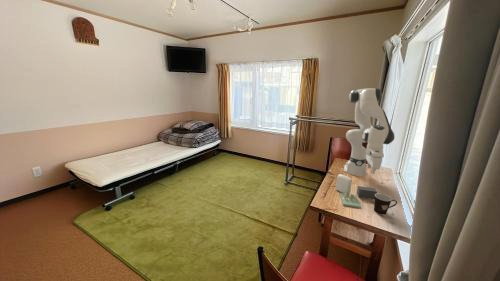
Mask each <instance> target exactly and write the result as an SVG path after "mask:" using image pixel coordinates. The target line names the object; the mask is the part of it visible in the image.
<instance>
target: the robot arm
mask: <svg viewBox="0 0 500 281" xmlns="http://www.w3.org/2000/svg"><path fill="white" fill-rule="evenodd" d="M381 98H382V92H381V89H380V88H378V87H377V88H376V87H374V88H371V87H370V88H368V87H367V88H360V89H353V90H351V91H349V95H348V99H349V102H350V103H352V104H355V107H354V122H355V124H356V125H358V126H359V129H357V128H354V129H349V130H347V131H346V133H345V139H346V140H347V142H349V143H350V146H351V153H350V157H349V160H348V161H347V162H345V164H344V165H343V172H344V173H347V174H349V175H352V176H356V177H357V176H358V177H363V176H365V175H368V172H367V169H371V170H370V174H373V175H374V174H376V171H377V170H380V169H381V167H382V161H383V158H384V157H385V154H384V145H390V144H392V142H393V141H394V140H395V132H394V131H393V129H392V128H391V125H390V121H389V119H388V117H387V113H386V112H385V110H384V109H383V108H381V106H380V105H379V103H378V102H379V101H380V100H381ZM371 118H374V119H376V120H377V121H378V122H379V124H375V125H372V123H371ZM363 143H367V144H366V147H365V146H363ZM366 161H367V164H366Z"/></svg>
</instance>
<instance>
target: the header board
mask: <svg viewBox="0 0 500 281" xmlns="http://www.w3.org/2000/svg"><path fill="white" fill-rule="evenodd" d="M339 196H340V199H341V202H342V206H346V207H351V208H358V209H361V207H362V206H361V204H360V202H359V200H358V196H357V194H353V193H352V194H351V193H350V194H346V193H342V192H339Z"/></svg>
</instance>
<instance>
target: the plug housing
mask: <svg viewBox="0 0 500 281" xmlns="http://www.w3.org/2000/svg"><path fill="white" fill-rule="evenodd" d="M377 193H378V191H377V189H376V187H370V186H361V185H357V188H356V195H357V196H356V197H357V198H361V199H367V200H374V199H375V194H377Z"/></svg>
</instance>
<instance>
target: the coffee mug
mask: <svg viewBox="0 0 500 281" xmlns="http://www.w3.org/2000/svg"><path fill="white" fill-rule="evenodd" d="M373 200H374V204H373V211H374V212H375V213H376V214H378V215H382V216H386V215H387V213H388V210H389V209H391V208H393V207H395V206H396V205H397V204H398V201H397V200H396V199H393V198H392V197H391V196H389V195H387V194H385V193H378V192H377V194H375V199H373ZM392 202H395V204H392ZM391 204H392V205H391ZM390 205H391V206H390Z"/></svg>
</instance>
